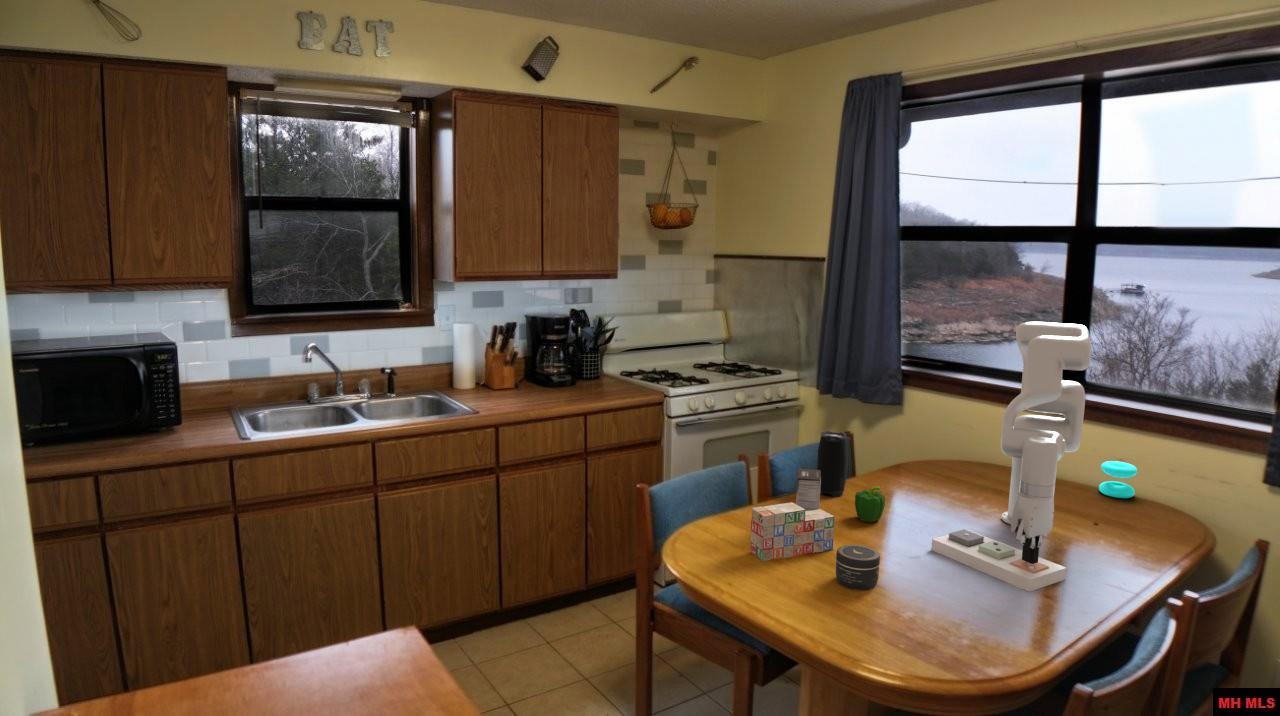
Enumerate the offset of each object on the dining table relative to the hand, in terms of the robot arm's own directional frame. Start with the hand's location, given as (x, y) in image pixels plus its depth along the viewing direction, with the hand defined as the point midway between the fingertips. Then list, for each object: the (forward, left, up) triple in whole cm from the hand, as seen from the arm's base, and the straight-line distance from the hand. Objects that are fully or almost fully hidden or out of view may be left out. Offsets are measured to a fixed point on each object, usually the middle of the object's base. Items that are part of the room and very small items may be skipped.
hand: (1029, 561), depth 192 cm
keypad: (0, -9, -4) cm, 10 cm away
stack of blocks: (+40, -40, -4) cm, 57 cm away
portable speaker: (-2, -70, -4) cm, 70 cm away
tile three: (0, 0, -3) cm, 3 cm away
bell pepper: (+5, -47, -4) cm, 47 cm away
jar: (+39, -18, -4) cm, 43 cm away
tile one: (0, -18, -2) cm, 18 cm away
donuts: (-84, -26, -4) cm, 88 cm away
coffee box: (+26, -50, -4) cm, 56 cm away
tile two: (0, -9, -2) cm, 9 cm away
